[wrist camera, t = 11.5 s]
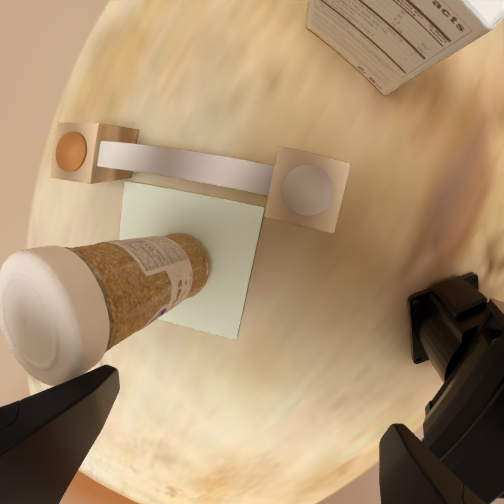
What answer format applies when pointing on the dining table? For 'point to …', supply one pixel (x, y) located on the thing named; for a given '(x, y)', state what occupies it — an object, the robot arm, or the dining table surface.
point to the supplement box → (400, 33)
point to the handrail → (206, 171)
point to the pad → (212, 240)
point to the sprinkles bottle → (92, 298)
